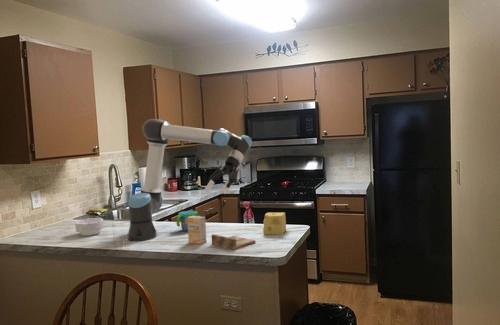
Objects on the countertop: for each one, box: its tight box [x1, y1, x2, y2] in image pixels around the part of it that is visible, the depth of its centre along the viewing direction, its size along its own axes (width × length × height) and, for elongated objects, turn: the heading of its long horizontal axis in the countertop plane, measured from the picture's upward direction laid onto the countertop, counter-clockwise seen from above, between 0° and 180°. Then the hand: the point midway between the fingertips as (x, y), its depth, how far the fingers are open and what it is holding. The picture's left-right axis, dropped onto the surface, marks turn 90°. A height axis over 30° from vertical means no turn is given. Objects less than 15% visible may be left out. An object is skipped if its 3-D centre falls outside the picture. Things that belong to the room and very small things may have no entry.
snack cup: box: [175, 210, 200, 232], centre depth 228 cm, size 16×10×10 cm
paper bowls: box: [74, 217, 105, 237], centre depth 232 cm, size 15×15×8 cm
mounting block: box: [211, 233, 256, 251], centre depth 193 cm, size 16×14×5 cm
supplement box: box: [187, 215, 207, 245], centre depth 199 cm, size 8×5×13 cm, turn 56°
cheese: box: [262, 212, 287, 236], centre depth 211 cm, size 10×11×10 cm
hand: (214, 191), depth 206 cm, fingers open, 13 cm apart
